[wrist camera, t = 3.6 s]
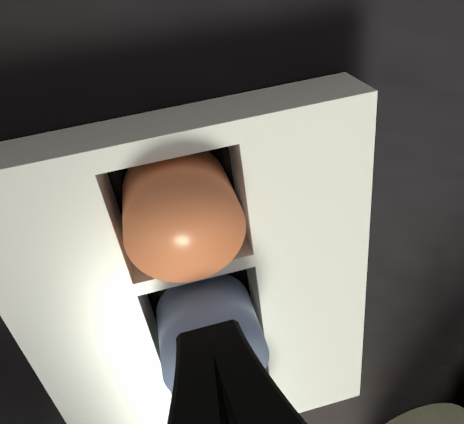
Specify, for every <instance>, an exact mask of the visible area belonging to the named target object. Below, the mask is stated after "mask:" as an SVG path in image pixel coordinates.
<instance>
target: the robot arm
mask: <svg viewBox="0 0 464 424" xmlns="http://www.w3.org/2000/svg"><path fill="white" fill-rule="evenodd" d="M167 424H307V423H306V422H305V421H304V419H303V418H302V417H301V416H300V414H299V413H298V412H297V411H296V409H295V408H294V407H293V406H292V404H291V403H290V402H289V401H288V399H287V398H286V397H285V395H284V394H283V393H282V391H281V390H280V389H279V387H278V386H277V385H276V383H275V382H274V380H273V379H272V378H271V376H270V375H269V373H268V372H267V371H266V369H265V368H264V366H263V365H262V363H261V362H260V360H259V359H258V357H257V355H256V354H255V352H254V351H253V349H252V347H251V346H250V344H249V342H248V341H247V339H246V337H245V335H244V333H243V331H242V329H241V327H240V325H239V322H238V321H236V320H234V319H232V320H228V321H224V322H220V323H217V324H213V325H209V326H205V327H201V328H198V329H194V330H190V331H186V332H182V333H180V334H179V335H178V336H177V337H176V364H175V375H174V383H173V391H172V398H171V404H170V410H169V415H168V421H167Z"/></svg>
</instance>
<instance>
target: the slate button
mask: <svg viewBox="0 0 464 424" xmlns="http://www.w3.org/2000/svg"><path fill="white" fill-rule="evenodd" d="M156 319H157V329H158V339H159V349H160V358H161V368H162V377H163V381H164V383H165V385H166V387H167V388H168V389H169V390H170V391H171V392H172V391H173V383H174V375H175V364H176V337H177V336H178V335H179V334H180V333H182V332H186V331H190V330H194V329H198V328H201V327H205V326H209V325H213V324H217V323H220V322H224V321H228V320H232V319H234V320H236V321H238V322H239V325H240V327H241V329H242V331H243V333H244V335H245V337H246V339H247V341H248V342H249V344H250V346H251V347H252V349H253V351H254V352H255V354H256V355H257V357H258V359H259V360H260V362H261V363H262V365H263V366H264V368H265V369H266V367H267V365H268V362H269V349H268V346H267V343H266V340H265V337H264V335H263V332H262V329H261V327H260V324H259V321H258V318H257V316H256V313H255V310H254V308H253V305H252V302H251V299H250V297H249V294H248V292H247V289H246V288H245V286H244V285H243V284H242V283H241V282H240V281H239V280H238V279H236V278H235V277H233V276H231V275H228V274H224V275H220V276H216V277H212V278H208V279H204V280H200V281H196V282H192V283H188V284H184V285H180V286H176V287H172V288H168V289H167V290H166V291H165V292H164V293H163V295H162V296H161V298H160V300H159V302H158V305H157V309H156Z"/></svg>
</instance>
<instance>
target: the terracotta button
mask: <svg viewBox="0 0 464 424" xmlns="http://www.w3.org/2000/svg"><path fill="white" fill-rule="evenodd" d="M122 225H123V244H124V248H125V251H126V253H127V256H128V257H129V259H130V260H131V262H132V263H133V264H134V265H135V266H136V267H137V268H138V269H139V270H140V271H142V272H143V273H145V274H146V275H148V276H150V277H152V278H155V279H158V280H161V281H166V282H173V283H184V282H192V281H197V280H200V279H204V278H206V277H209V276H211V275H213V274H215V273H217V272H218V271H220V270H221V269H223V268H224V267H225V266H226V265H228V264H229V263H230V262H231V261H232V260H233V259H234V257H235V256H236V255H237V253H238V252H239V250H240V248H241V246H242V244H243V241H244V238H245V234H246V220H245V215H244V212H243V210H242V207H241V205H240V203H239V201H238V199H237V197H236V194H235V192H234V190H233V188H232V186H231V184H230V181H229V179H228V177H227V175H226V173H225V171H224V168H223V167H222V165H221V163H220V162H219V160H218V159H217V158H216V157H215V156H214V155H213V154H212V153H211V152H209V151H204V152H199V153H195V154H190V155H185V156H181V157H176V158H172V159H167V160H162V161H158V162H153V163H148V164H144V165H139V166H135V167H130V168H128V170H127V171H126V174H125V176H124V179H123V184H122Z"/></svg>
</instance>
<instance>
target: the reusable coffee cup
mask: <svg viewBox="0 0 464 424" xmlns="http://www.w3.org/2000/svg"><path fill="white" fill-rule="evenodd" d="M386 424H464V408H462V407H461V406H459V405H456V404H452V403H437V404H430V405H426V406H422V407H418V408H416V409H413V410H410V411H408V412H406V413H403V414H401V415H399V416H397V417H395V418H394V419H392V420H390V421H389V422H387V423H386Z"/></svg>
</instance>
